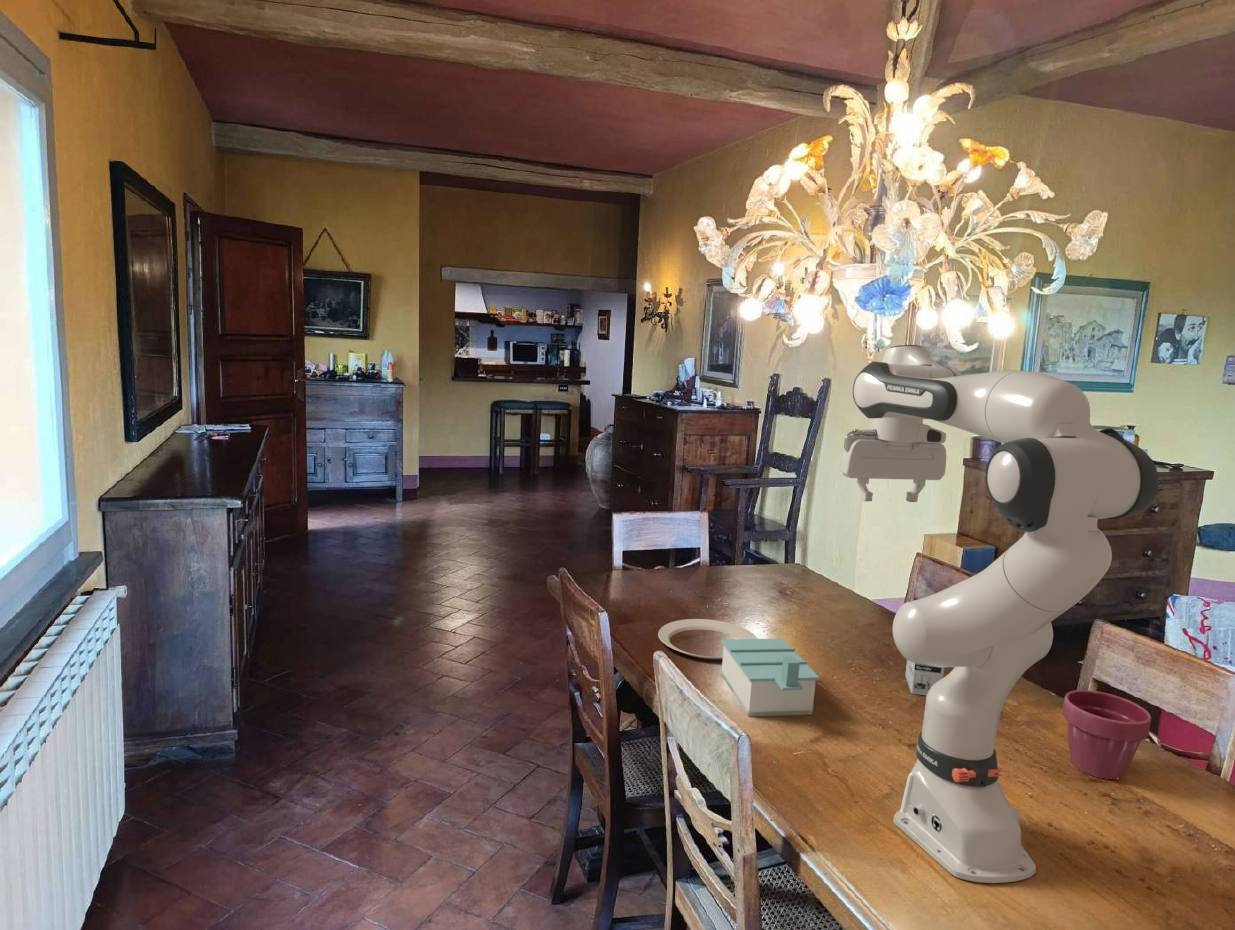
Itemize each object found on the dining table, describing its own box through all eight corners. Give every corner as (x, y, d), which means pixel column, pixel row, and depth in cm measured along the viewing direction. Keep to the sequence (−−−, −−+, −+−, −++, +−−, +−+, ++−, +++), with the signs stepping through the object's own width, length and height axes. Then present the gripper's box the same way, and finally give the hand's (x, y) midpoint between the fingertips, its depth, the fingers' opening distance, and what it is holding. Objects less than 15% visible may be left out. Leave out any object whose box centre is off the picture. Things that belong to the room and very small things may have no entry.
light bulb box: (941, 698, 183) (947, 653, 181) (910, 694, 184) (915, 649, 182) (933, 679, 193) (938, 636, 191) (903, 675, 194) (908, 632, 193)
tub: (812, 714, 172) (815, 679, 170) (748, 716, 169) (751, 680, 168) (778, 674, 191) (781, 641, 190) (721, 675, 189) (723, 642, 187)
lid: (827, 694, 166) (830, 663, 165) (756, 695, 163) (759, 664, 162) (782, 645, 190) (785, 618, 189) (720, 646, 188) (723, 618, 187)
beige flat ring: (700, 619, 225) (701, 612, 225) (778, 647, 208) (778, 640, 207) (637, 640, 208) (637, 633, 207) (715, 674, 190) (716, 666, 189)
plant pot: (1113, 750, 163) (1123, 691, 161) (1157, 790, 149) (1169, 725, 147) (1041, 746, 163) (1050, 686, 161) (1079, 785, 150) (1089, 720, 147)
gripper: (853, 431, 151) (845, 504, 153) (954, 434, 154) (945, 505, 156) (838, 426, 157) (831, 496, 159) (936, 429, 160) (928, 498, 162)
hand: (889, 501), depth 158 cm, fingers open, 8 cm apart
